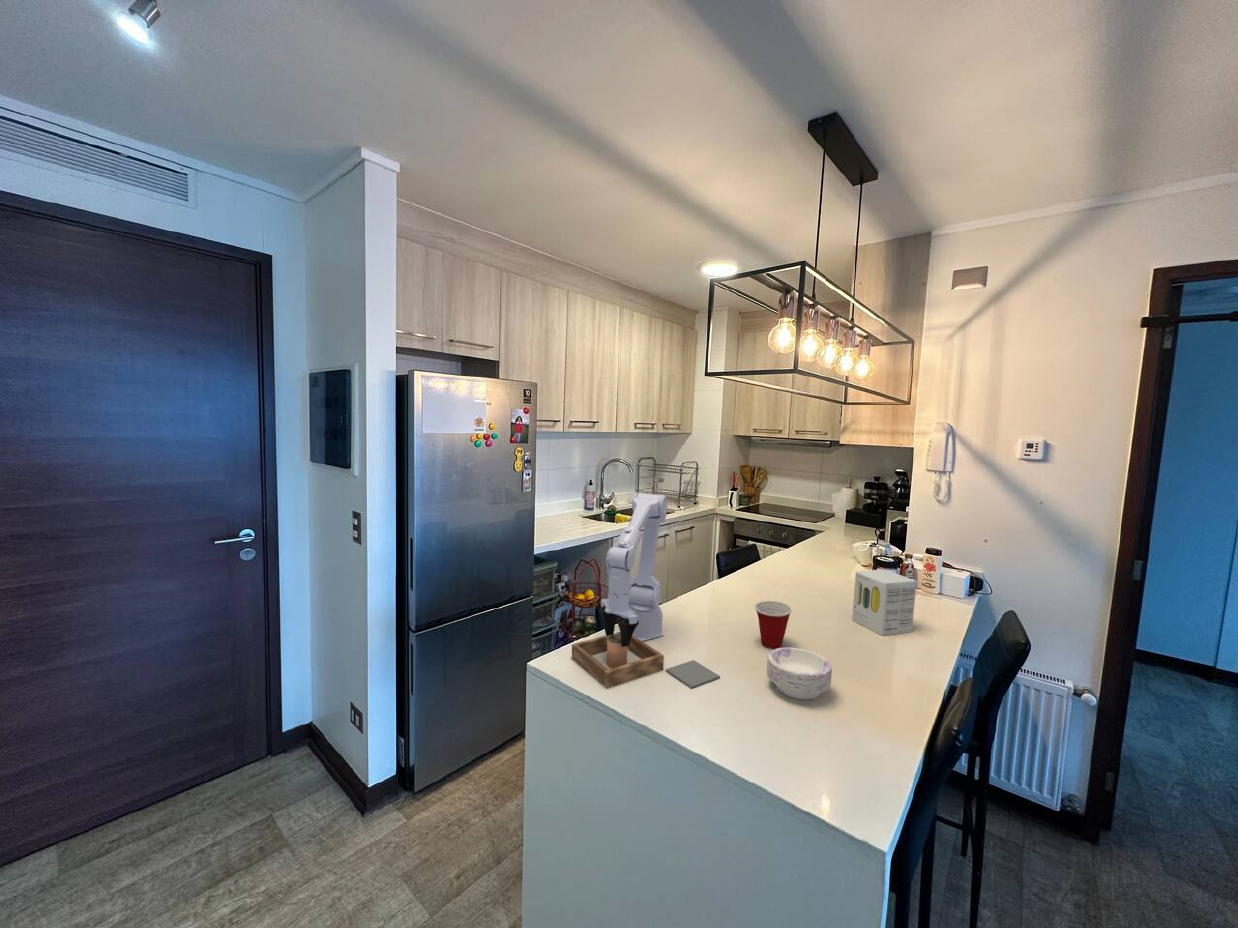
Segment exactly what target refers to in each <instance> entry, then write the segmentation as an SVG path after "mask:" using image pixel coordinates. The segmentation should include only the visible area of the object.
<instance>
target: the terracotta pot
mask: <svg viewBox="0 0 1238 928" xmlns="http://www.w3.org/2000/svg"><path fill="white" fill-rule="evenodd" d="M625 664H628V649H627V646H626V647H622V645H621V635H611V636H609V637H608V638H607V651H606V666H607V668H609V669H613V668H616V667H619V666H622V665H625Z"/></svg>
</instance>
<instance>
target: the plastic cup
mask: <svg viewBox="0 0 1238 928" xmlns="http://www.w3.org/2000/svg"><path fill="white" fill-rule="evenodd" d="M754 610H755V612H756V614H757V618H758V627H759V634H760V640H761V646H763V647H766V648H768V649H771V650H774V649H778V648H782V646H783V641H784V638H785V634H786V631H787V627H788V622H789V618H790V615H791V613H792V612H793V609H792V607H791V606H790V605H789V604H787V603H785V602H782V601H777V600H762V601H757V602H756V603H755V604H754Z"/></svg>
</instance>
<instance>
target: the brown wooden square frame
mask: <svg viewBox="0 0 1238 928" xmlns="http://www.w3.org/2000/svg"><path fill="white" fill-rule="evenodd" d="M613 635H621V634H620V631H617V632H614V634H613ZM610 636H611V635H610ZM608 637H609V636H606V635H602V636H599V637H594V638H592V639H591V638H590V639H587V640H586V639H585V640H584V641H579V642H576V643H572V644H571V659H572V660H573V661H574V662H576V663H577V664H578V665H579V666H580V667H581V668H582V669H584V670H585V671H586V672H587V673H588V674H589V675H590V676H591V677H593V678H594V679H595V680H596V679H597V680H598V682H599V684H601V685H602V684H603V685H604V686H605V687H604V686H603V685H602V686H603V687H604V688H605V689H609V687H610V688H612V686H613V687H616V686H619V685H622V684H625V683H628V682H630V680H631V681H634V680H637V679H641V678H643V677H646V676H648V675H651V674H654V673H657V672H661V671H664V664H665V663H664V662H665V661H664V660H665V658H664V657H665V655H664V654H662V653H661V652H660V651H658V650H657V649H656V648H655V649H654V648H653V647H652V646H651V645H649V644H647V643H646V642H645V641H641V640H639V639H638V638H636V637H635V636H633V635H632V638H631V641H630V644H629V646H627V650H628V651H630V652H632V653H633V654H635V655H636V656H637V657H639V658H640V659H639V660H635V661H633V662H629V663H627V664H625V665H622V666H619V667H616V668H613V669H612V668H608V667H606V666H605V665H603V664H602V663H601V662H600V661H599V660H597V659H596V658H595V657H594V656H593V655H596V654H599V653H603V652H607V638H608ZM597 680H596V681H597ZM618 684H619V685H618ZM615 685H616V686H615Z"/></svg>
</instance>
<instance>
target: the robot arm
mask: <svg viewBox="0 0 1238 928" xmlns="http://www.w3.org/2000/svg"><path fill="white" fill-rule="evenodd" d="M631 508H632V516H631V517H630V521H629V524H628V526H626V527H624V528H623V529H622V531H621V532H620V533H619V534H620V535H619V537H618V538H617V541H616V543H615V544H614V545H613V546H612V547H610V548H609V549H608V550H607V552H606V558H605V564H606V567H607V571H606V572H607V575H608V594H607V595H608V598H602V599H601V600H600V606H601V607H602V608H601V609H599V610H598V613H599V615H600V617H601V620H602V623H603V627H604V632H605V636H610V635H613V634H614V633H615V628H616V623H617V626H618V628H619V632H620V634H621V645H622V647H626V646H629V644H630V641H631V638H632V635H633V636H635V637H636V638H638V639H639V640H641V641H642V642H645V641H646V642H647V641H650V640H652V639H655V638H660V637H664V633H663V612H662V608H661V607H660V604H661V601H662V584H661V582H660V580H658V579H657V578H656V576H654V573H655V563H656V557H657V550H658V549H657V548H658V547H657V546H658V540H659V531H660V528H661V527H660V526H661V524H663V523H664V522H666V518H667V513H668V511H667V510H668V499H667V496H666V495H665V494H652V493H651V494H650V493H642V492H636V493H634V495H633V496H632V501H631ZM642 529H643V531H642ZM641 531H642V534H641ZM641 540H642V541H641ZM640 542H641V546H640V555H639V563H638V570H637V571H638V572H637V575H635V576H633V577H631V571H632V569H633V568H634V565H635V559H636V555H637V552H636V551H637V548H638V546H639V544H640ZM617 616H619V617H621V618H622V620H618V621H617ZM616 621H617V622H616Z"/></svg>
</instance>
